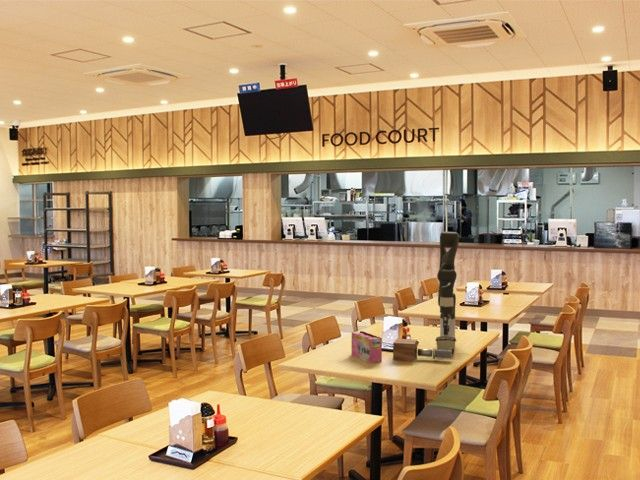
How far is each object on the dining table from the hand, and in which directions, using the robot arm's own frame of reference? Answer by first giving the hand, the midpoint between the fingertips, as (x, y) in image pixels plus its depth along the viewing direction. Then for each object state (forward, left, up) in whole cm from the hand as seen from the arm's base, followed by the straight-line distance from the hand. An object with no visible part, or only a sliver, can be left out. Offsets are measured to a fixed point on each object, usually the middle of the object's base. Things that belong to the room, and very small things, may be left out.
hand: (446, 333), depth 374 cm
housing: (0, -23, -16) cm, 28 cm away
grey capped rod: (0, -7, -15) cm, 16 cm away
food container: (-18, -2, -16) cm, 24 cm away
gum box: (+5, -45, -16) cm, 48 cm away
